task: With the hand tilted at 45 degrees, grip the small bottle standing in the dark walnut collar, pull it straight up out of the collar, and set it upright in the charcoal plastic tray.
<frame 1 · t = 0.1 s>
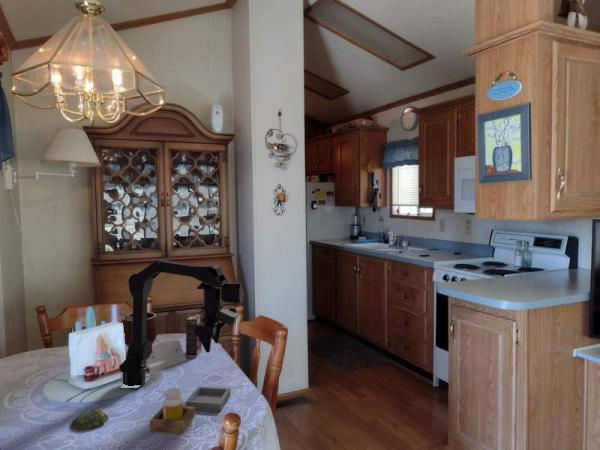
hand: (212, 347, 144), 15 cm above the table, tool pointing down, fingers open, 9 cm apart
supplement box: (194, 354, 179), on the table
walnut collar: (173, 423, 122), on the table
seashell: (90, 423, 123), on the table
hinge: (163, 364, 167), on the table
supplement bottle: (173, 424, 122), resting in walnut collar
mate gourd: (138, 358, 174), on the table
charcoal tray: (209, 402, 136), on the table
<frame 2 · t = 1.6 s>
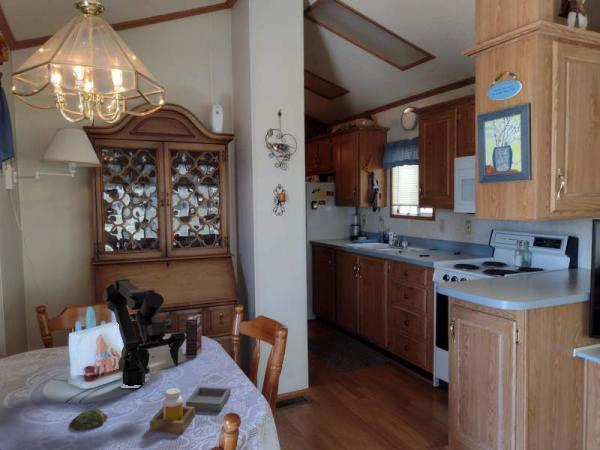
hand: (162, 369, 128), 13 cm above the table, tool tilted 45°, fingers open, 9 cm apart
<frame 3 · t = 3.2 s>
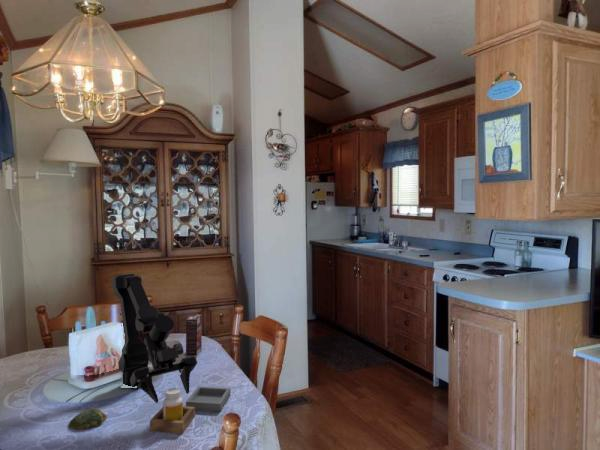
hand: (173, 397, 122), 8 cm above the table, tool tilted 45°, fingers open, 9 cm apart
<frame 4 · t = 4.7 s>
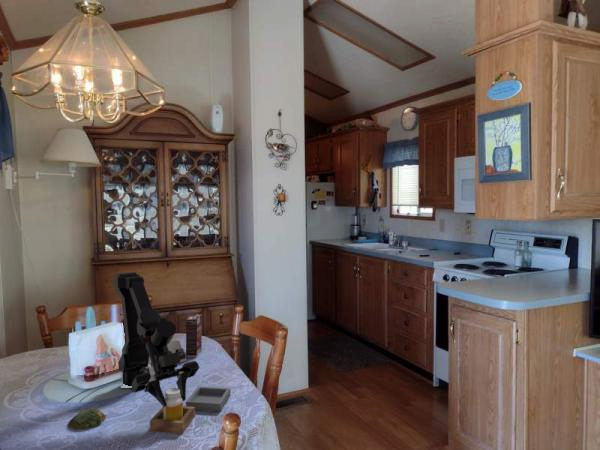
hand: (174, 403, 121), 7 cm above the table, tool tilted 45°, fingers closed on supplement bottle, 5 cm apart
supplement bottle: (173, 424, 122), resting in walnut collar, touching gripper
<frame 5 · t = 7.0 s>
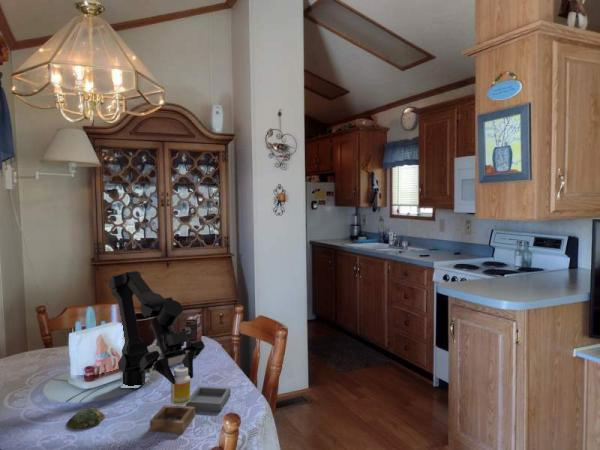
hand: (183, 380, 123), 12 cm above the table, tool tilted 45°, fingers closed on supplement bottle, 5 cm apart
supplement bottle: (180, 402, 124), point 5 cm above the table, touching gripper
when the fingers open (8 cm above the table, at t = 9.7 s): supplement bottle stays where it is, resting on charcoal tray.
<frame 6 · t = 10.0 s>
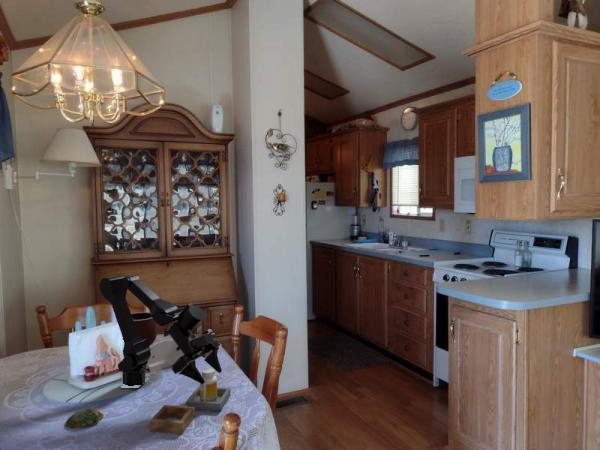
hand: (212, 377, 135), 8 cm above the table, tool tilted 45°, fingers open, 9 cm apart
supplement bottle: (208, 400, 136), resting on charcoal tray
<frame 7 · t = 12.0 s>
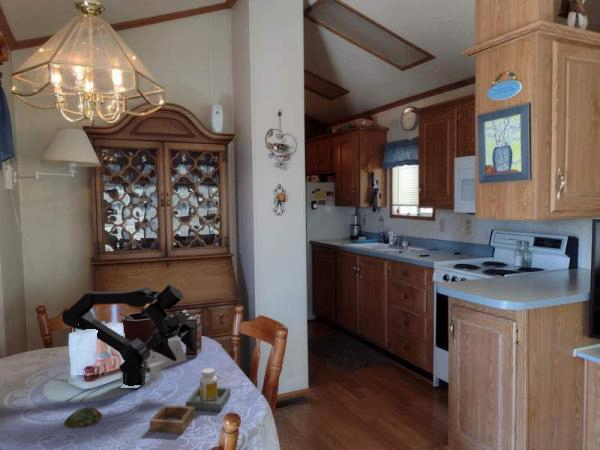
hand: (185, 355, 141), 13 cm above the table, tool tilted 45°, fingers open, 9 cm apart
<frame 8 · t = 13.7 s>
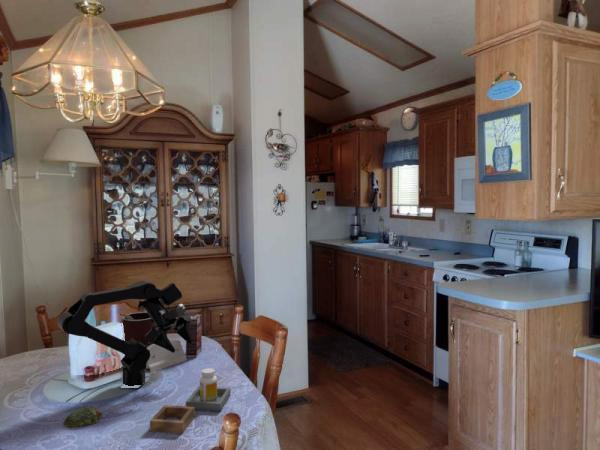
hand: (183, 347, 147), 14 cm above the table, tool tilted 45°, fingers open, 9 cm apart
at the end: supplement bottle inside the target area on the charcoal tray (0.2 cm from its centre), point 0.4 cm above the charcoal tray's base; supplement bottle tilted 0°; the gripper is holding nothing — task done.
